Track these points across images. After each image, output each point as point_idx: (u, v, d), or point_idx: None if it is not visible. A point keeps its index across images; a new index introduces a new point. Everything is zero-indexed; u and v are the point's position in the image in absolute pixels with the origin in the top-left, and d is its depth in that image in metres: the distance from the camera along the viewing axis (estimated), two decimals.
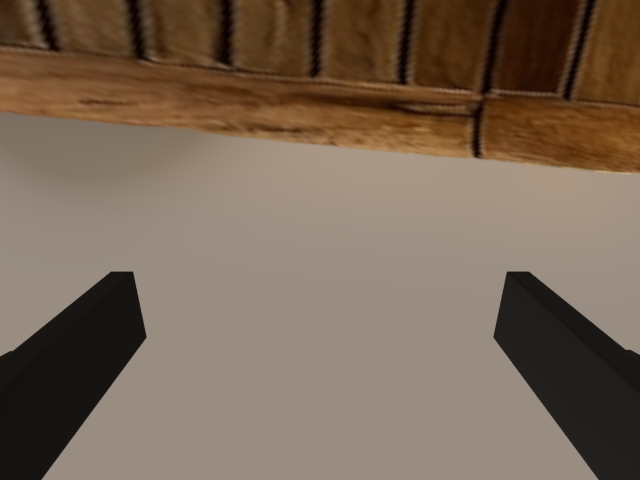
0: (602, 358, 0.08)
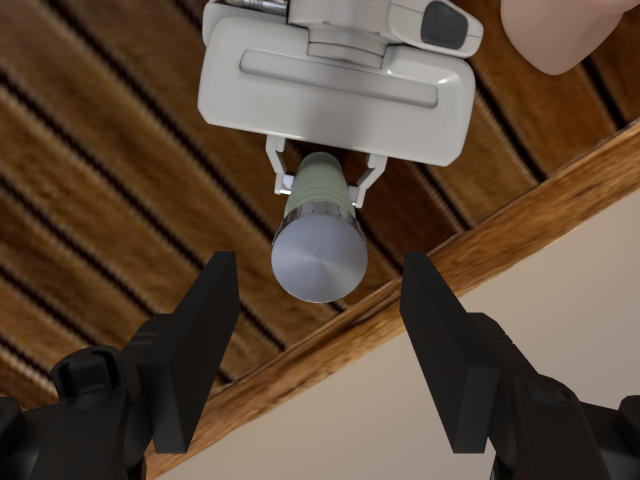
0: (441, 315, 0.10)
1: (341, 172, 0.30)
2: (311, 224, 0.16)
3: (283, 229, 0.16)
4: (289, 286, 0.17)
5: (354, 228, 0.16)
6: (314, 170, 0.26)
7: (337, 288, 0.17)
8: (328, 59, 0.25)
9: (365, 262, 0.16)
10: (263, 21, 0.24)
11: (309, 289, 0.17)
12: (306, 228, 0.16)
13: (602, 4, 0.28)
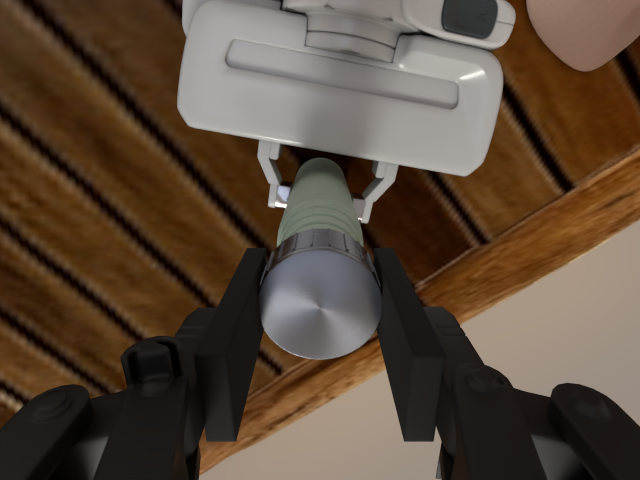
0: (397, 308, 0.10)
1: (344, 182, 0.26)
2: (309, 263, 0.12)
3: (272, 269, 0.12)
4: (281, 339, 0.13)
5: (366, 267, 0.12)
6: (313, 182, 0.22)
7: (343, 342, 0.13)
8: (330, 51, 0.21)
9: (379, 310, 0.13)
10: (253, 6, 0.20)
11: (307, 343, 0.13)
12: (303, 268, 0.12)
13: None
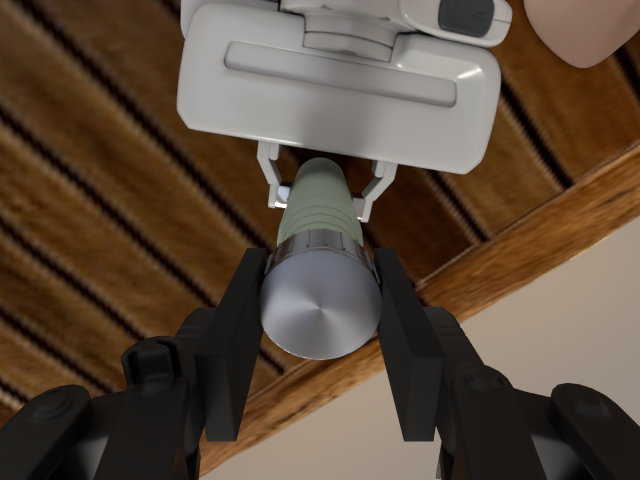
0: (396, 308, 0.10)
1: (344, 182, 0.26)
2: (292, 343, 0.13)
3: (320, 358, 0.13)
4: (374, 310, 0.13)
5: None
6: (313, 182, 0.22)
7: (332, 267, 0.12)
8: (328, 51, 0.21)
9: (277, 268, 0.12)
10: (251, 8, 0.21)
11: (360, 291, 0.12)
12: (300, 344, 0.13)
13: None
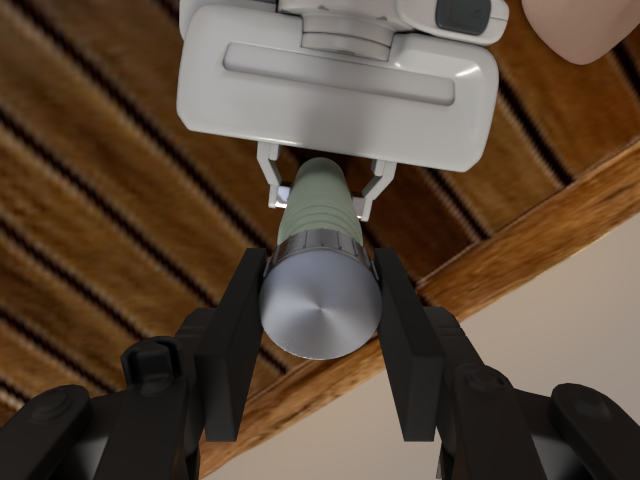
0: (397, 308, 0.10)
1: (344, 181, 0.26)
2: (370, 300, 0.13)
3: (365, 268, 0.12)
4: (281, 271, 0.12)
5: (360, 344, 0.13)
6: (313, 181, 0.22)
7: (279, 328, 0.13)
8: (326, 51, 0.21)
9: (316, 357, 0.13)
10: (249, 9, 0.21)
11: (277, 296, 0.12)
12: (365, 295, 0.12)
13: None
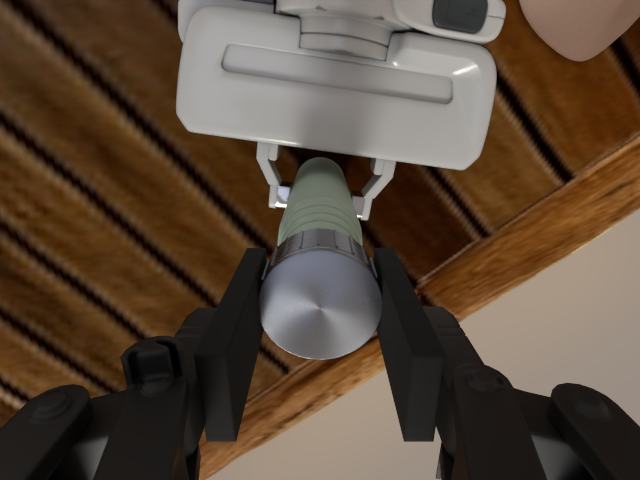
0: (396, 308, 0.10)
1: (343, 180, 0.27)
2: (277, 282, 0.12)
3: None
4: (316, 353, 0.13)
5: (322, 250, 0.12)
6: (312, 181, 0.22)
7: (364, 319, 0.13)
8: (324, 51, 0.21)
9: (367, 273, 0.12)
10: (247, 10, 0.21)
11: (338, 341, 0.13)
12: (277, 289, 0.12)
13: None
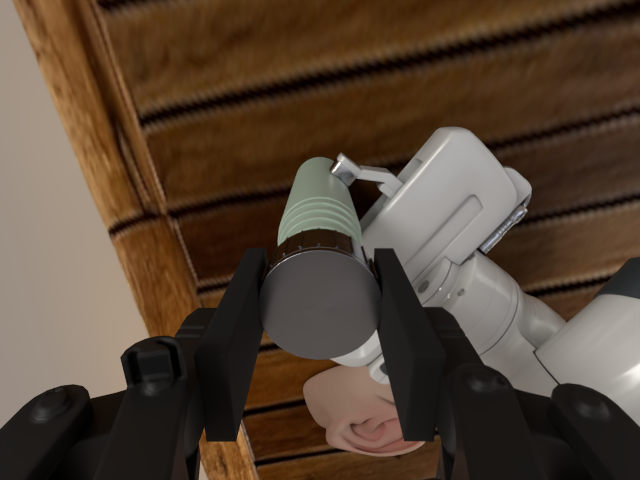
0: (397, 308, 0.10)
1: None
2: (278, 281, 0.12)
3: None
4: (316, 353, 0.13)
5: (323, 250, 0.12)
6: None
7: (365, 320, 0.13)
8: (430, 270, 0.27)
9: (367, 273, 0.12)
10: (490, 234, 0.26)
11: (338, 341, 0.13)
12: (277, 289, 0.12)
13: (339, 424, 0.39)
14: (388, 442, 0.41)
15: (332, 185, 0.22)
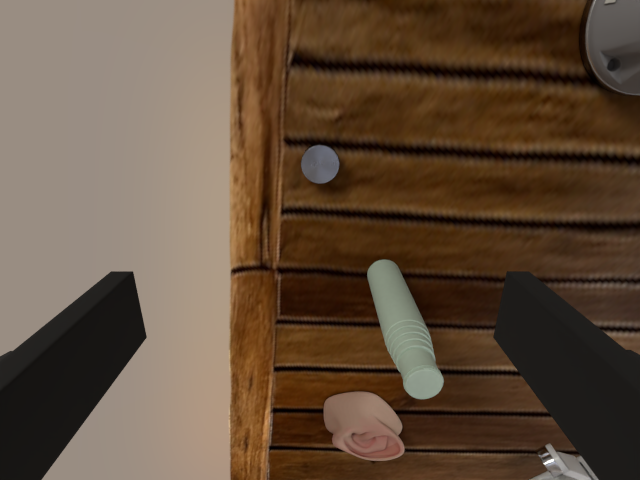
0: (602, 358, 0.08)
1: None
2: (307, 155, 0.42)
3: (301, 164, 0.42)
4: (319, 181, 0.43)
5: (320, 145, 0.41)
6: None
7: (333, 168, 0.42)
8: None
9: (334, 152, 0.42)
10: None
11: (325, 176, 0.43)
12: (307, 158, 0.42)
13: (346, 432, 0.56)
14: (374, 450, 0.58)
15: (413, 305, 0.39)
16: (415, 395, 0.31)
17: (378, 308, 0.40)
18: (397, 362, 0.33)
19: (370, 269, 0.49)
